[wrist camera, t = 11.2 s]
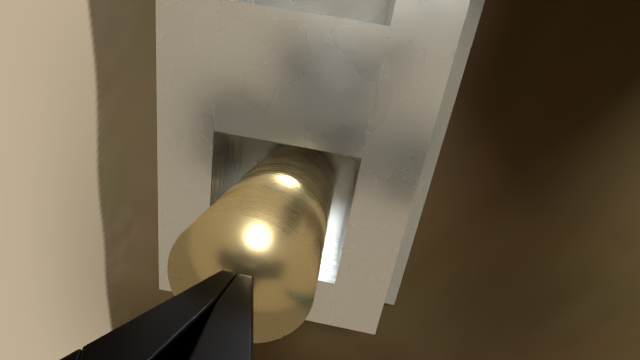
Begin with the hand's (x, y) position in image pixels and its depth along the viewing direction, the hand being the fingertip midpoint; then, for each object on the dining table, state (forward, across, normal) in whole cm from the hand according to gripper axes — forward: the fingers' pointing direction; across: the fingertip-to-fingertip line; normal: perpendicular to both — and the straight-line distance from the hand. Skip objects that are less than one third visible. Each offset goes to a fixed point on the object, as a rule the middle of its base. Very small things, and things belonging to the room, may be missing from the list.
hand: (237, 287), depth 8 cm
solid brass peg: (+8, 0, 0) cm, 8 cm away
